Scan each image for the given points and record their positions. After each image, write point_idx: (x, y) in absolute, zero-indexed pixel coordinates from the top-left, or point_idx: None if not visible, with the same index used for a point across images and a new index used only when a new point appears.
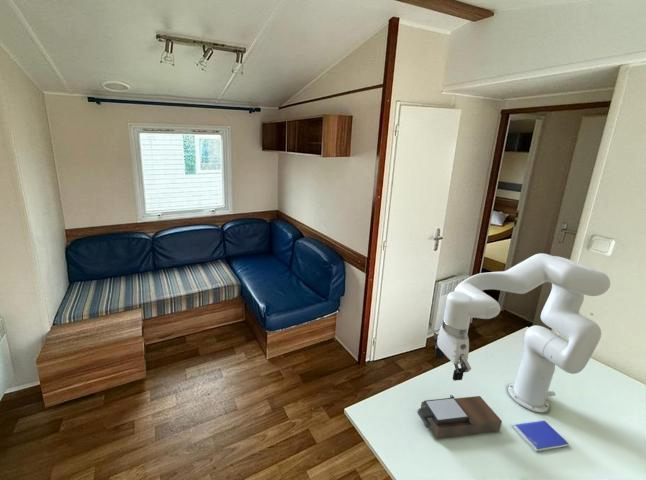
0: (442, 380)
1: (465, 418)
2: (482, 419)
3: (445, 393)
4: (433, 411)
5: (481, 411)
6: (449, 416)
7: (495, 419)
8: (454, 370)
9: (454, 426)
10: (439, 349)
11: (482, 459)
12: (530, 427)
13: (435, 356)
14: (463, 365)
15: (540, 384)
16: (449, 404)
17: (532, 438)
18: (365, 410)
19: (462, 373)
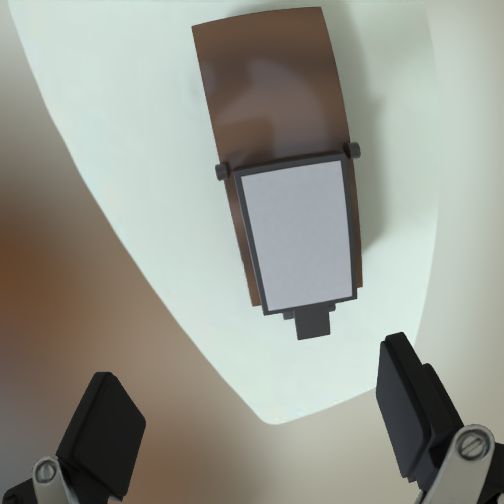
0: (93, 135)
1: (347, 173)
2: (323, 81)
3: (153, 146)
4: (315, 299)
5: (281, 60)
6: (341, 244)
7: (316, 26)
8: (413, 481)
9: (359, 225)
10: (103, 489)
11: (407, 148)
12: None
13: (139, 441)
14: (472, 502)
15: None
16: (279, 215)
17: None
18: (260, 406)
19: (458, 423)
